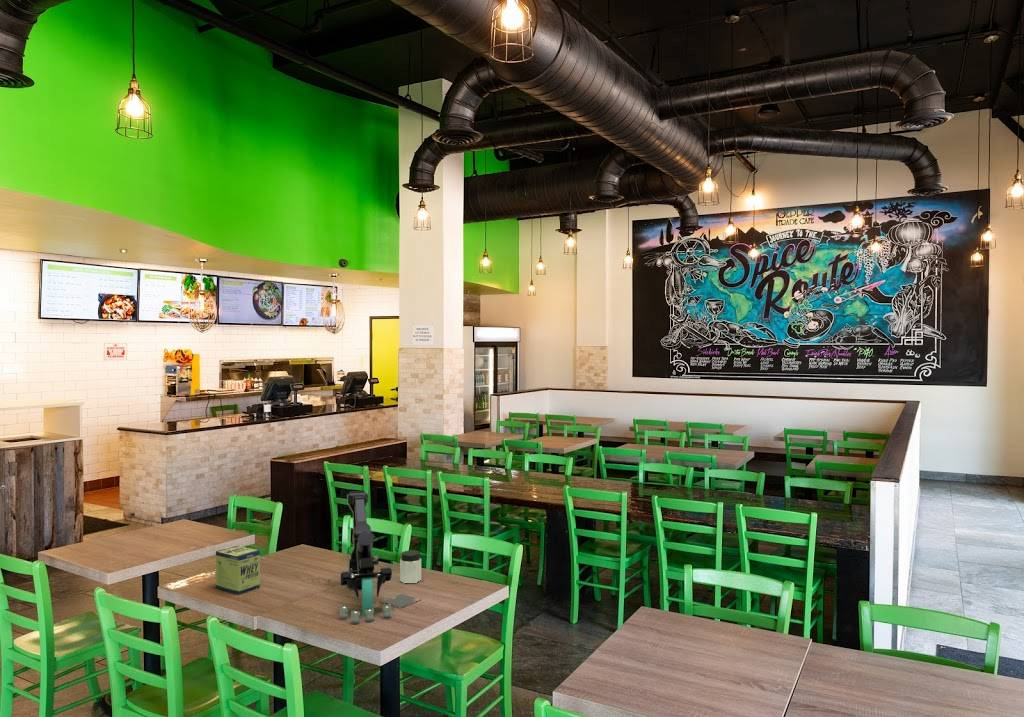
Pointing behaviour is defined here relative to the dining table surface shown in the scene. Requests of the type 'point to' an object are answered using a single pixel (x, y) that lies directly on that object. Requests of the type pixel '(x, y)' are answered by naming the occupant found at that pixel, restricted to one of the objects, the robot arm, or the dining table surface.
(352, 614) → the spacer posts
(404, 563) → the jar
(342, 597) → the dining table surface
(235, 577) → the protein box
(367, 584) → the teal dowel
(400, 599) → the mat
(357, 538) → the robot arm
